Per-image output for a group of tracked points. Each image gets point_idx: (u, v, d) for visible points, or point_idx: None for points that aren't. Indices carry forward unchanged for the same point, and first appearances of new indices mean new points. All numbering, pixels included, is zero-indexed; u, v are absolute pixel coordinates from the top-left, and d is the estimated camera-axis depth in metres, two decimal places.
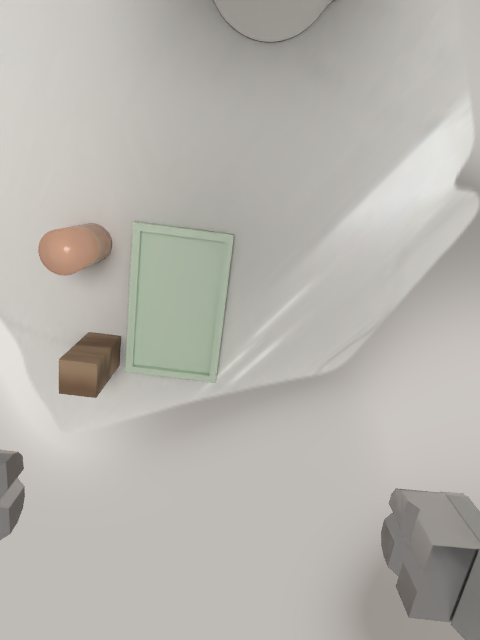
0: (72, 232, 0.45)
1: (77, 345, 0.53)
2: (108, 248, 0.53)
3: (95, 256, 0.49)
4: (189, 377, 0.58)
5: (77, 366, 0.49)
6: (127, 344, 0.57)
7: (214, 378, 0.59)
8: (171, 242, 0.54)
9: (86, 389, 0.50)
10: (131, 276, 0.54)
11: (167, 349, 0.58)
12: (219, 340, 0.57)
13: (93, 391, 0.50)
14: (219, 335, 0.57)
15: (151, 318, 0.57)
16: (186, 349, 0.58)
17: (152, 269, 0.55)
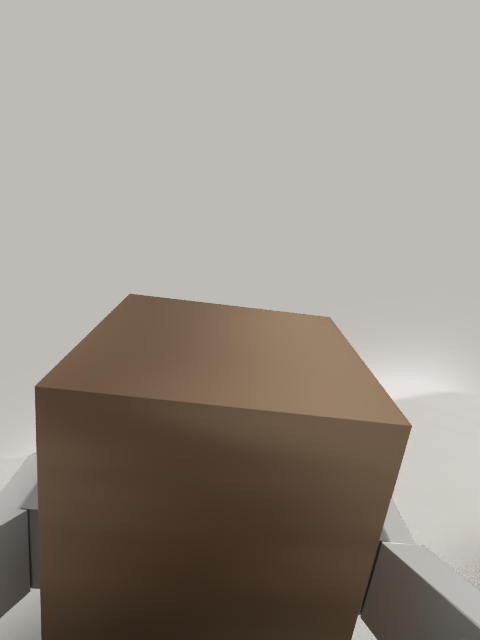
0: None
1: None
2: None
3: None
4: None
5: (322, 349, 0.07)
6: None
7: None
8: None
9: (142, 357, 0.06)
10: None
11: None
12: None
13: (108, 381, 0.05)
14: None
15: None
16: None
17: None
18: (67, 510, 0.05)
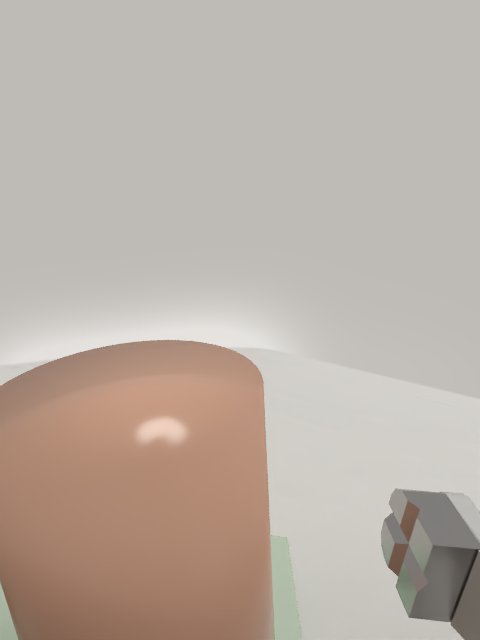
0: (255, 436, 0.07)
1: None
2: None
3: None
4: None
5: None
6: None
7: None
8: None
9: None
10: None
11: None
12: None
13: None
14: None
15: None
16: None
17: None
18: None
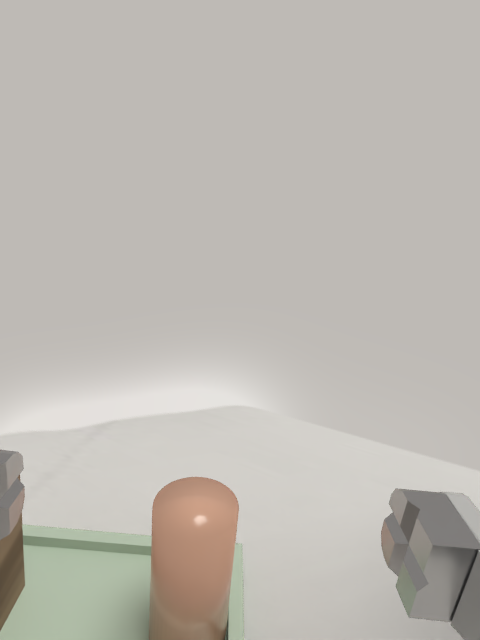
0: (233, 528, 0.23)
1: (19, 530, 0.27)
2: None
3: (173, 593, 0.23)
4: None
5: None
6: (30, 526, 0.32)
7: None
8: None
9: None
10: None
11: None
12: None
13: None
14: None
15: (66, 572, 0.30)
16: None
17: None
18: None
